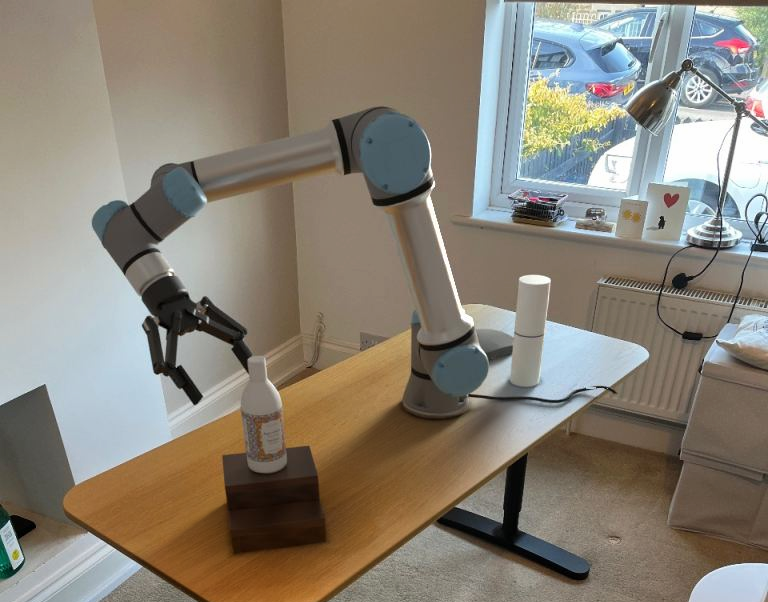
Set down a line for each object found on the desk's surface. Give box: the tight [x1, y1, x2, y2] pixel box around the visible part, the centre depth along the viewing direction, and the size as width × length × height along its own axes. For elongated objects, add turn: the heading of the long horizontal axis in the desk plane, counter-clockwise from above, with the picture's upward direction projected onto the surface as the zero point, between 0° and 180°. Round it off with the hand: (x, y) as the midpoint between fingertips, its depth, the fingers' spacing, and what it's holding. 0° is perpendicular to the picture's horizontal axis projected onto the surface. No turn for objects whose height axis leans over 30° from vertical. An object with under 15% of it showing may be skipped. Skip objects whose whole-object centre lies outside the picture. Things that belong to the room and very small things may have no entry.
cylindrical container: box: [509, 274, 552, 388], centre depth 181 cm, size 7×7×25 cm
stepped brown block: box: [221, 445, 327, 555], centre depth 136 cm, size 16×17×10 cm
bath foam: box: [240, 355, 287, 473], centre depth 130 cm, size 7×7×20 cm
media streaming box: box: [475, 328, 514, 360], centre depth 205 cm, size 15×15×3 cm
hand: (228, 387), depth 134 cm, fingers open, 13 cm apart
